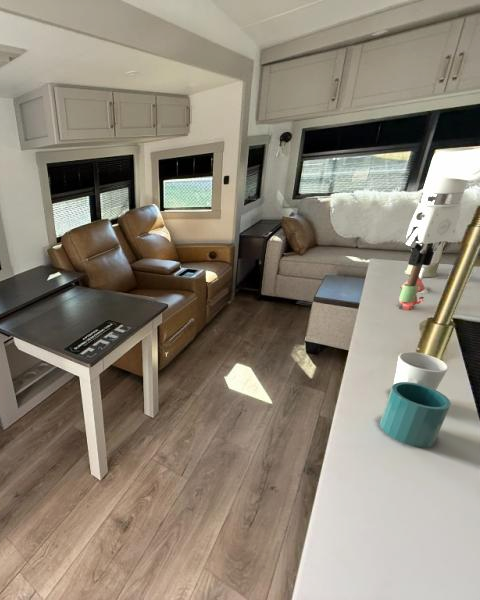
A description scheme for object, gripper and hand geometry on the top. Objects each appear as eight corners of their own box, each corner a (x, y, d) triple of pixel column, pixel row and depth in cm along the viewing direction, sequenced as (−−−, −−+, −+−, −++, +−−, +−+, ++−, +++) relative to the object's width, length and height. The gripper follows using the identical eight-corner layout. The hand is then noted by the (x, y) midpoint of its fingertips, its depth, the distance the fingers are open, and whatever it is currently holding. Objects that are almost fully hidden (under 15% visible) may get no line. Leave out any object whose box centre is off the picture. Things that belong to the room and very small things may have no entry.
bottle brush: (409, 298, 97) (428, 244, 90) (416, 302, 94) (435, 247, 87) (396, 298, 98) (413, 244, 91) (402, 302, 95) (420, 247, 89)
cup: (379, 399, 79) (392, 359, 75) (394, 387, 82) (408, 348, 78) (422, 418, 73) (439, 376, 68) (437, 405, 76) (455, 363, 71)
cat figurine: (397, 302, 123) (406, 273, 118) (422, 307, 118) (432, 277, 113) (392, 308, 119) (401, 278, 115) (417, 313, 114) (428, 282, 109)
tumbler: (418, 424, 71) (434, 384, 67) (442, 454, 64) (462, 412, 60) (372, 417, 74) (384, 379, 70) (390, 445, 67) (404, 405, 63)
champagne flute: (413, 293, 128) (432, 235, 119) (400, 287, 134) (417, 231, 125) (433, 292, 127) (453, 233, 118) (419, 286, 133) (437, 230, 124)
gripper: (432, 204, 80) (410, 272, 87) (483, 196, 82) (457, 264, 89) (399, 201, 87) (381, 265, 94) (447, 194, 89) (426, 257, 96)
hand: (418, 264), depth 91 cm, fingers closed on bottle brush
